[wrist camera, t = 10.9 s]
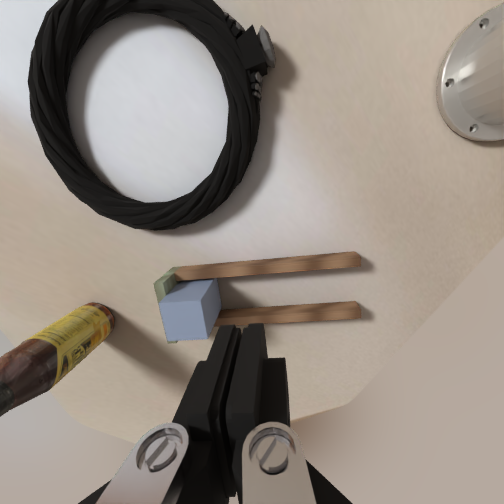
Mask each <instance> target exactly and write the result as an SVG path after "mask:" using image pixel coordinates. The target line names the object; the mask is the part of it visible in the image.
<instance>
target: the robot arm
mask: <svg viewBox="0 0 504 504" xmlns="http://www.w3.org/2000/svg"><path fill="white" fill-rule="evenodd" d="M445 84H446V85H447V86H446V85H445ZM436 91H437V103H438V106H439V110H440V113H441V115H442V117H443V118H444V120H445V122H446V123H447V124H448V126H449V127H450V128H451V129H452V130H453V131H455V132H456V133H458V134H459V135H460V136H462V137H465V138H468V139H470V140H475V141H481V142H485V141H497V140H503V139H504V3H502V4H500V5H498V6H496V7H494V8H492V9H490V10H488V11H487V12H486V13H484V14H483V15H481V16H480V17H478V18H477V19H476V20H475V21H474V22H472V23H471V24H470V25H469V26H468V27H466V28H465V29H464V30H463V32H462V33H461V34H460V35H459V36H458V37H457V38H456V39H455V41H454V42H453V44H452V45H451V47H450V49H449V50H448V52H447V54H446V56H445V58H444V60H443V62H442V64H441V68H440V71H439V75H438V80H437V90H436ZM236 491H237V495H238V501H239V504H352V503H351V502H350V501H349V500H348V499H347V498H346V497H345V496H344V495H343V494H342V493H340V491H339V490H337V489H336V488H335V487H334V486H333V485H332V484H331V483H330V482H329V481H328V480H327V479H326V478H325V477H324V476H323V475H322V474H321V473H319V472H318V471H317V470H316V469H315V468H314V467H313V466H312V465H311V464H310V463H309V462H308V461H307V460H306V459H305V456H304V452H303V448H302V444H301V442H300V439H299V437H298V436H297V434H296V433H295V432H294V431H293V430H292V429H291V428H290V412H289V394H288V381H287V371H286V361H285V358H268V355H267V347H266V339H265V331H264V324H263V323H250V324H249V325H248V327H247V328H244V329H243V333H242V334H241V329H240V328H236V326H235V324H233V325H220V327H219V330H218V332H217V335H216V337H215V340H214V343H213V345H212V348H211V350H210V353H209V355H208V358H207V360H206V361H199V362H198V364H197V366H196V368H195V370H194V373H193V375H192V377H191V379H190V382H189V384H188V386H187V389H186V391H185V393H184V396H183V398H182V400H181V402H180V405H179V407H178V409H177V412H176V414H175V416H174V419H173V421H172V423H165V424H161V425H158V426H156V427H155V428H153V429H151V430H149V431H148V432H147V433H146V434H145V435H143V436H142V437H141V438H140V440H139V441H138V442H137V443H136V445H135V446H134V448H133V449H132V450H131V452H130V454H129V455H128V457H127V458H126V459H125V461H124V462H123V464H122V466H121V467H120V468H119V470H118V471H117V473H116V474H115V476H114V477H113V479H112V480H110V481H109V482H107V483H106V484H105V485H103V486H102V487H101V488H99V489H98V490H96V491H95V492H94V493H92V494H91V495H89V496H88V497H87V498H85V499H84V500H82V501H81V502H80V503H78V504H228V503H229V497H235V495H236Z"/></svg>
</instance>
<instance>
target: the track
mask: <svg viewBox="0 0 504 504" xmlns="http://www.w3.org/2000/svg"><path fill="white" fill-rule="evenodd" d="M358 266H361V257H360V256H359V255H358V254H357V253H356V252H343V253H332V254H320V255H309V256H297V257H286V258H274V259H263V260H251V261H240V262H228V263H217V264H205V265H194V266H182V267H173V268H172V269H170V270H169V271H168V272H167V273H166V274H164V275H163V276H162V277H161V278H160V279H158V280H157V281H156V282H155V283H154V288H155V292H156V296H157V300H158V305H159V302H160V301H161V300H162V299H163V298H164V297H165V296H166V295H167V294H168V293H169V292H170V291H171V290H172V289H173V288H174V287H175V286H176V285H177V284H178V283H179V281H183V280H195V279H208V278H220V277H233V276H245V275H258V274H270V273H283V272H295V271H308V270H320V269H333V268H345V267H358ZM159 309H160V307H159ZM160 313H161V312H160ZM161 317H162V316H161ZM356 318H361V309H360V307H359V306H358V304H357V303H356V301H351V302H335V303H319V304H304V305H288V306H272V307H257V308H241V309H226V310H220V312H219V314H218V317H217V319H216V321H215V324H214V326H220V325H233V324H235V325H249V324H250V323H263V324H267V323H285V322H303V321H321V320H339V319H356ZM162 321H163V320H162ZM163 326H164V324H163ZM164 330H165V328H164ZM165 334H166V333H165ZM166 338H167V337H166ZM167 342H168V343H177V342H178V341H167Z"/></svg>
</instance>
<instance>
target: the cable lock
mask: <svg viewBox="0 0 504 504" xmlns="http://www.w3.org/2000/svg"><path fill="white" fill-rule="evenodd" d="M130 12H138V13H150V14H156V15H159V16H163V17H166V18H170V19H174V20H175V21H177V22H179V23H181V24H182V25H183V26H184V27H186V28H187V29H188V30H189V31H190V32H191V33H192V34H193V35H194V36H195V37H196V38H197V39H199V40H200V41H201V42H202V43H203V44H204V45H205V46H206V48H207V49H208V51H209V52H210V53H211V55H212V57H213V59H214V61H215V64H216V66H217V68H218V70H219V72H220V74H221V76H222V80H223V84H224V87H225V91H226V95H227V99H228V105H229V111H228V124H227V137H226V143H225V145H224V147H223V149H222V151H221V153H220V156H219V158H218V160H217V162H216V164H215V166H214V169H213V171H212V173H211V174H210V175H209V176H208V177H207V178H206V179H205V180H203V181H202V182H201V183H200V184H199V185H198V186H197V187H196V188H195V189H194V190H193V191H192V192H190V193H188V194H186V195H184V196H181V197H179V198H177V199H174V200H172V201H168V202H152V203H144V202H141V201H137V200H134V199H131V198H127V197H124V196H121V195H120V194H118V193H117V192H115V191H114V190H112V189H111V188H109V187H108V186H106V185H105V184H104V183H102V182H101V181H100V180H99V179H98V178H97V176H96V175H95V174H94V173H93V172H92V171H91V170H90V169H89V167H88V166H87V165H86V163H85V162H84V160H83V159H82V157H81V155H80V153H79V151H78V149H77V147H76V145H75V142H74V140H73V137H72V134H71V131H70V126H69V121H68V115H67V107H66V96H65V95H66V89H67V84H68V79H69V74H70V69H71V65H72V62H73V59H74V57H75V56H76V54H77V53H78V51H79V50H80V48H81V47H82V45H83V44H84V42H85V41H86V39H87V38H88V37H89V36H90V35H91V34H92V32H93V31H94V30H96V29H97V28H99V27H100V26H102V25H103V24H105V23H106V22H108V21H109V20H111V19H114V18H116V17H119V16H121V15H124V14H126V13H130ZM275 61H276V59H275V53H274V48H273V45H272V42H271V39H270V36H269V33H268V32H267V31H266V30H265V29H264V27H263V26H262V25H261V27H260V30H259V32H258V35H256V32H255V30H254V27H253V25H251V26H250V27H249V28H248V29H247V30H246V31H245V30H244V28H243V27H242V26H241V25H240V24H239V23H238V22H237V21H236V20H235V19H234V18H232V17H231V16H230V15H229V14H228V13H224V12H223V11H222V9H221V8H220V7H219V6H218V5H217V4H216V3H215V2H214V1H213V0H58V1H57V2H56V3H55V4H54V5H53V6H52V7H51V8H50V9H49V10H48V11H47V12H46V15H45V17H44V20H43V22H42V25H41V27H40V30H39V32H38V35H37V37H36V40H35V45H34V48H33V50H32V52H31V60H30V68H29V76H28V86H29V92H30V111H31V118H32V121H33V123H34V126H35V128H36V131H37V133H38V136H39V138H40V141H41V144H42V147H43V150H44V153H45V155H46V157H47V158H48V160H49V161H50V163H51V164H52V166H53V167H54V169H55V170H56V172H57V173H58V175H59V176H60V178H61V179H62V181H63V182H64V183H65V185H66V186H67V188H68V189H69V190H70V191H71V192H72V193H73V194H74V195H75V196H76V197H77V198H78V199H79V200H81V201H82V202H84V203H85V204H87V205H88V206H89V207H91V208H92V209H93V210H94V211H95V212H97V213H98V214H99V215H102V216H104V217H107V218H109V219H112V220H114V221H117V222H119V223H121V224H124V225H127V226H129V227H132V228H134V229H150V230H168V229H175V228H177V227H180V226H183V225H187V224H192V223H195V222H197V221H199V220H200V219H202V218H204V217H205V216H207V215H209V214H210V213H212V212H213V211H214V210H216V209H217V208H218V207H219V206H220V205H221V204H222V203H223V202H224V201H226V200H227V198H228V197H229V196H230V194H231V193H232V192H233V190H234V189H235V188H236V187H237V185H238V184H239V183H240V182H241V181H242V178H243V176H244V174H245V172H246V170H247V168H248V165H249V163H250V161H251V158H252V154H253V151H254V147H255V145H256V142H257V136H258V129H259V122H260V106H259V102H260V101H261V96H260V95H261V86H262V76H263V75H266V74H267V67H268V66H270V67H273V68H274V67H275Z"/></svg>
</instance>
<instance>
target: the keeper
mask: <svg viewBox="0 0 504 504" xmlns="http://www.w3.org/2000/svg"><path fill="white" fill-rule="evenodd" d="M159 307H160V312H161V316H162V320H163V324H164V328H165V333H166V337H167V341H178V340H199V339H208V337H209V335H210V333H211V330H212V328H213V326H214V324H215V321H216V319H217V317H218V314H219V312H220V310H221V308H222V304H221V298H220V292H219V286H218V280H217V278H208V279H195V280H183V281H179V283H178V284H177V285H176V286H175V287H174V288H173V289H172V290H171V291H170V292H169V293H168V294H167V295H166V296H165V297H164V298H163V299H162V300H161V301H160V302H159Z"/></svg>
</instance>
